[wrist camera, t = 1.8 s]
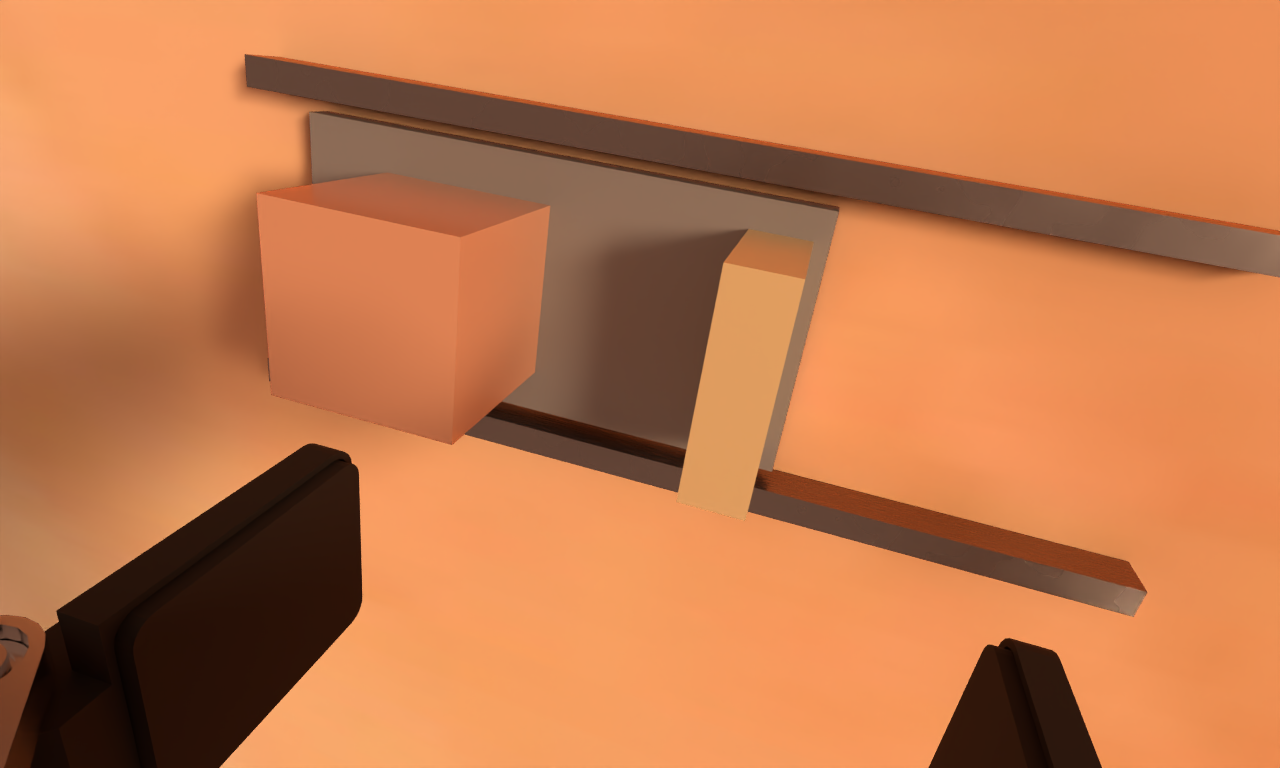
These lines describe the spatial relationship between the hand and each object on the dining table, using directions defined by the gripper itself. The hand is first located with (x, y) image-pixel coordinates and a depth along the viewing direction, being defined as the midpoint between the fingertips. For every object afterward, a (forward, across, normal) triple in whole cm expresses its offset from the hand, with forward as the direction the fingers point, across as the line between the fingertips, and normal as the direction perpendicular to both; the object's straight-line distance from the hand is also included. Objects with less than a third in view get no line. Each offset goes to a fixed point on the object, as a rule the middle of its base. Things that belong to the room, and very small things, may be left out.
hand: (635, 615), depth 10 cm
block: (+14, +10, 0) cm, 17 cm away
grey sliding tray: (+15, +7, 0) cm, 17 cm away
